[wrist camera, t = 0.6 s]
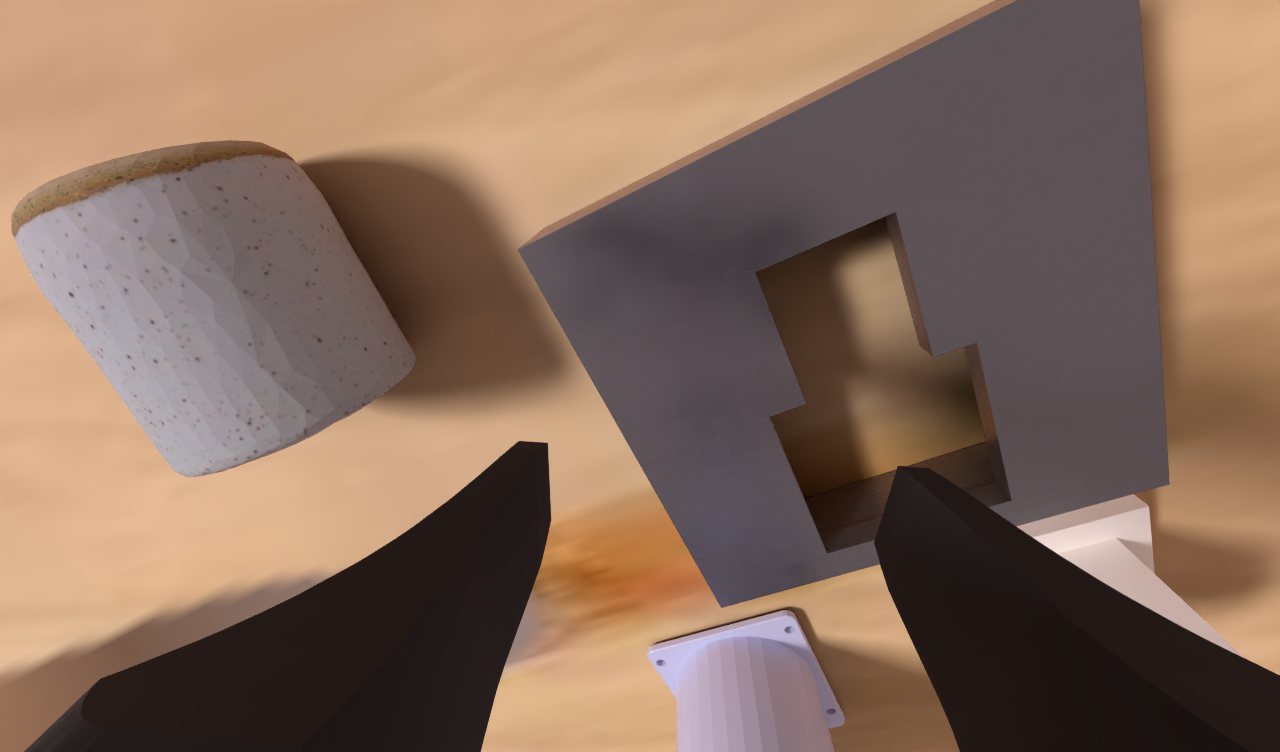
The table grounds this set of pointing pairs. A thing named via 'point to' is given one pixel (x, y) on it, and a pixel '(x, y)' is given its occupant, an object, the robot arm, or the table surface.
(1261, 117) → the table surface
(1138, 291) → the keyhole plate
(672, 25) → the table surface
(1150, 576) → the peg
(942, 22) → the table surface
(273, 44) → the table surface
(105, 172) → the ceramic mug
